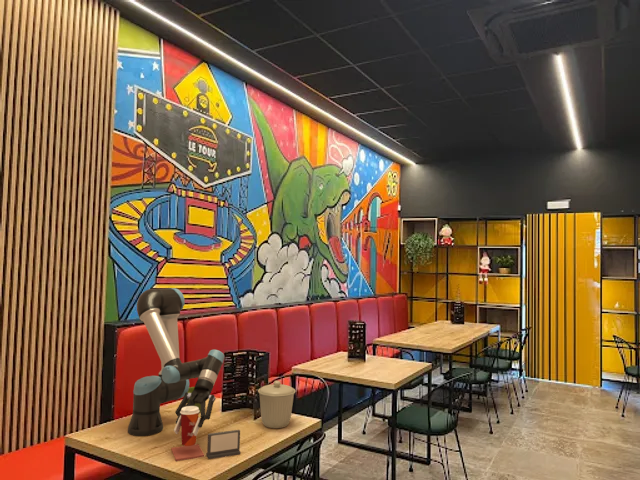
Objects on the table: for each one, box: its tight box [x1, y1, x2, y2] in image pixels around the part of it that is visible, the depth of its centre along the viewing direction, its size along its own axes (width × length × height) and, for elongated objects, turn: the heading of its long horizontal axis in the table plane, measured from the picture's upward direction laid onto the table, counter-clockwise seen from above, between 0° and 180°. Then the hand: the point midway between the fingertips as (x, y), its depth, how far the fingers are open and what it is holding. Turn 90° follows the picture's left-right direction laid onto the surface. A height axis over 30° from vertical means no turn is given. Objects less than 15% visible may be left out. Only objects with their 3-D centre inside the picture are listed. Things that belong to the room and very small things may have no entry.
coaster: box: [170, 443, 205, 462], centre depth 190 cm, size 12×11×1 cm
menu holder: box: [205, 429, 241, 460], centre depth 189 cm, size 4×13×9 cm, turn 116°
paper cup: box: [180, 405, 201, 446], centre depth 190 cm, size 8×8×14 cm
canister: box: [257, 380, 296, 429], centre depth 226 cm, size 18×18×21 cm
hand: (185, 433), depth 187 cm, fingers closed on paper cup, 8 cm apart
